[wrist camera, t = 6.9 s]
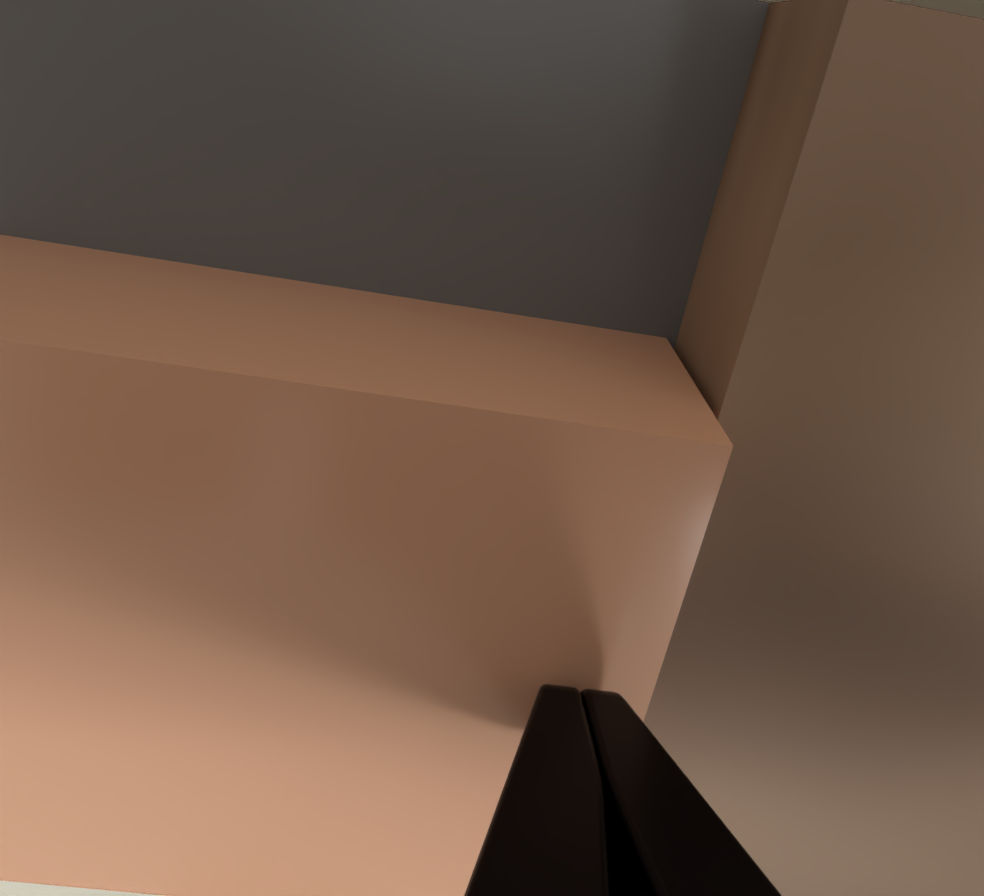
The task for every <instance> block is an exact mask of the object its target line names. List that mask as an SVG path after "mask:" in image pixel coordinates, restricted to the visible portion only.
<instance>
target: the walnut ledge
mask: <svg viewBox="0 0 984 896" xmlns="http://www.w3.org/2000/svg"><path fill="white" fill-rule="evenodd" d="M674 351H675V352H676V354H677V356H678V357H679V359H680V361H681V362H682V364H683V365H684V367H685V369H686V370H687V372H688V373H689V375H690V377H691V378H692V380H693V381H694V383H695V385H696V386H697V388H698V390H699V391H700V393H701V394H702V396H703V398H704V399H705V401H706V402H707V404H708V406H709V407H710V409H711V410H712V412H713V414H714V415H715V417H716V419H717V420H718V422H719V423H720V425H721V427H722V428H723V430H724V431H725V433H726V435H727V436H728V438H729V439H730V441H731V443H732V444H733V449H732V452H731V455H730V458H729V461H728V464H727V467H726V470H725V473H724V476H723V479H722V482H721V485H720V489H719V492H718V495H717V498H716V501H715V504H714V507H713V510H712V513H711V516H710V519H709V522H708V525H707V528H706V531H705V535H704V538H703V541H702V544H701V547H700V550H699V553H698V556H697V559H696V562H695V565H694V568H693V571H692V574H691V577H690V581H689V584H688V587H687V590H686V593H685V596H684V599H683V602H682V605H681V608H680V611H679V614H678V617H677V620H676V623H675V627H674V630H673V633H672V636H671V639H670V642H669V645H668V648H667V651H666V654H665V657H664V660H663V663H662V666H661V669H660V673H659V676H658V679H657V682H656V685H655V688H654V691H653V694H652V697H651V700H650V703H649V706H648V709H647V712H646V715H645V719H644V724H645V725H646V726H647V727H648V729H649V730H650V731H651V732H652V734H653V735H654V736H655V737H656V739H657V740H658V741H659V742H660V744H661V745H662V746H663V747H664V749H665V750H666V751H667V752H668V754H669V755H670V756H671V757H672V759H673V760H674V761H675V762H676V764H677V765H678V766H679V767H680V769H681V770H682V771H683V772H684V774H685V775H686V776H687V777H688V779H689V780H690V781H691V782H692V784H693V785H694V786H695V787H696V789H697V790H698V791H699V792H700V794H701V795H702V796H703V798H704V799H705V800H706V801H707V803H708V804H709V805H710V806H711V808H712V809H713V810H714V811H715V813H716V814H717V815H718V816H719V818H720V819H721V820H722V821H723V823H724V824H725V825H726V826H727V828H728V829H729V830H730V831H731V833H732V834H733V835H734V836H735V838H736V839H737V840H738V841H739V843H740V844H741V845H742V846H743V848H744V849H745V850H746V851H747V853H748V854H749V855H750V856H751V858H752V859H753V860H754V861H755V863H756V864H757V865H758V866H759V868H760V869H761V870H762V871H763V873H764V874H765V875H766V876H767V878H768V879H769V880H770V881H771V883H772V884H773V885H774V886H775V888H776V889H777V890H778V891H779V893H780V894H781V895H782V896H984V19H980V18H975V17H970V16H964V15H959V14H954V13H949V12H944V11H939V10H934V9H929V8H923V7H918V6H913V5H908V4H903V3H898V2H893V1H887V0H790V1H782V2H773V3H769V7H768V10H767V14H766V17H765V21H764V25H763V28H762V32H761V36H760V39H759V43H758V47H757V50H756V54H755V57H754V61H753V65H752V68H751V72H750V76H749V79H748V83H747V86H746V90H745V94H744V97H743V101H742V105H741V108H740V112H739V116H738V119H737V123H736V126H735V130H734V134H733V137H732V141H731V145H730V148H729V152H728V156H727V159H726V163H725V166H724V170H723V174H722V177H721V181H720V185H719V188H718V192H717V196H716V199H715V203H714V206H713V210H712V214H711V217H710V221H709V225H708V228H707V232H706V235H705V239H704V243H703V246H702V250H701V254H700V257H699V261H698V265H697V268H696V272H695V275H694V279H693V283H692V286H691V290H690V294H689V297H688V301H687V305H686V308H685V312H684V315H683V319H682V323H681V326H680V330H679V334H678V337H677V341H676V344H675V348H674Z"/></svg>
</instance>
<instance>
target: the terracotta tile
mask: <svg viewBox="0 0 984 896" xmlns="http://www.w3.org/2000/svg"><path fill="white" fill-rule="evenodd" d="M732 449H733V444H732V443H731V441H730V439H729V438H728V436H727V435H726V433H725V431H724V430H723V428H722V427H721V425H720V423H719V422H718V420H717V419H716V417H715V415H714V414H713V412H712V410H711V409H710V407H709V406H708V404H707V402H706V401H705V399H704V398H703V396H702V394H701V393H700V391H699V390H698V388H697V386H696V385H695V383H694V381H693V380H692V378H691V377H690V375H689V373H688V372H687V370H686V369H685V367H684V365H683V364H682V362H681V361H680V359H679V357H678V356H677V354H676V352H675V351H674V349H673V348H672V346H671V344H670V343H669V341H668V340H667V338H664V337H657V336H651V335H644V334H638V333H632V332H625V331H619V330H612V329H606V328H599V327H593V326H586V325H580V324H574V323H567V322H561V321H554V320H548V319H541V318H535V317H528V316H522V315H516V314H509V313H503V312H496V311H490V310H483V309H477V308H470V307H464V306H458V305H451V304H445V303H438V302H432V301H425V300H419V299H413V298H406V297H400V296H393V295H387V294H380V293H374V292H367V291H361V290H355V289H348V288H342V287H335V286H329V285H322V284H316V283H309V282H303V281H297V280H290V279H284V278H277V277H271V276H264V275H258V274H251V273H245V272H239V271H232V270H226V269H219V268H213V267H206V266H200V265H193V264H187V263H181V262H174V261H168V260H161V259H155V258H148V257H142V256H136V255H129V254H123V253H116V252H110V251H103V250H97V249H90V248H84V247H78V246H71V245H65V244H58V243H52V242H45V241H39V240H32V239H26V238H20V237H13V236H7V235H0V880H2V881H13V882H24V883H35V884H46V885H57V886H67V887H78V888H89V889H100V890H111V891H121V892H132V893H143V894H154V895H165V896H464V894H465V891H466V889H467V886H468V883H469V880H470V878H471V875H472V872H473V869H474V867H475V864H476V861H477V858H478V856H479V853H480V850H481V847H482V845H483V842H484V839H485V836H486V834H487V831H488V828H489V825H490V823H491V820H492V817H493V814H494V812H495V809H496V806H497V803H498V801H499V798H500V795H501V792H502V790H503V787H504V784H505V781H506V779H507V776H508V773H509V770H510V768H511V765H512V762H513V760H514V757H515V754H516V751H517V749H518V746H519V743H520V740H521V738H522V735H523V732H524V729H525V727H526V724H527V721H528V718H529V716H530V713H531V710H532V707H533V705H534V702H535V699H536V696H537V694H538V691H539V689H540V687H541V686H542V685H544V684H552V685H561V686H570V687H575V688H576V689H578V690H579V691H580V692H581V691H582V690H584V689H595V690H603V691H612V692H616V693H619V694H620V695H621V696H623V698H624V699H625V700H626V701H627V702H628V704H629V705H630V706H631V707H632V709H633V710H634V711H635V712H636V714H637V715H638V716H639V717H640V719H641V720H642V721H643V722H644V719H645V715H646V712H647V709H648V706H649V703H650V700H651V697H652V694H653V691H654V688H655V685H656V682H657V679H658V676H659V673H660V669H661V666H662V663H663V660H664V657H665V654H666V651H667V648H668V645H669V642H670V639H671V636H672V633H673V630H674V627H675V623H676V620H677V617H678V614H679V611H680V608H681V605H682V602H683V599H684V596H685V593H686V590H687V587H688V584H689V581H690V577H691V574H692V571H693V568H694V565H695V562H696V559H697V556H698V553H699V550H700V547H701V544H702V541H703V538H704V535H705V531H706V528H707V525H708V522H709V519H710V516H711V513H712V510H713V507H714V504H715V501H716V498H717V495H718V492H719V489H720V485H721V482H722V479H723V476H724V473H725V470H726V467H727V464H728V461H729V458H730V455H731V452H732Z"/></svg>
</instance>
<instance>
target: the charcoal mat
mask: <svg viewBox="0 0 984 896" xmlns="http://www.w3.org/2000/svg"><path fill="white" fill-rule="evenodd" d="M768 7H769V3H767V2H762V1H757V0H0V235H7V236H13V237H20V238H26V239H32V240H39V241H45V242H52V243H58V244H65V245H71V246H78V247H84V248H90V249H97V250H103V251H110V252H116V253H123V254H129V255H136V256H142V257H148V258H155V259H161V260H168V261H174V262H181V263H187V264H193V265H200V266H206V267H213V268H219V269H226V270H232V271H239V272H245V273H251V274H258V275H264V276H271V277H277V278H284V279H290V280H297V281H303V282H309V283H316V284H322V285H329V286H335V287H342V288H348V289H355V290H361V291H367V292H374V293H380V294H387V295H393V296H400V297H406V298H413V299H419V300H425V301H432V302H438V303H445V304H451V305H458V306H464V307H470V308H477V309H483V310H490V311H496V312H503V313H509V314H516V315H522V316H528V317H535V318H541V319H548V320H554V321H561V322H567V323H574V324H580V325H586V326H593V327H599V328H606V329H612V330H619V331H625V332H632V333H638V334H644V335H651V336H657V337H664V338H667V340H668V341H669V343H670V344H671V346H672V348H673V349H674V348H675V344H676V341H677V337H678V334H679V330H680V326H681V323H682V319H683V315H684V312H685V308H686V305H687V301H688V297H689V294H690V290H691V286H692V283H693V279H694V275H695V272H696V268H697V265H698V261H699V257H700V254H701V250H702V246H703V243H704V239H705V235H706V232H707V228H708V225H709V221H710V217H711V214H712V210H713V206H714V203H715V199H716V196H717V192H718V188H719V185H720V181H721V177H722V174H723V170H724V166H725V163H726V159H727V156H728V152H729V148H730V145H731V141H732V137H733V134H734V130H735V126H736V123H737V119H738V116H739V112H740V108H741V105H742V101H743V97H744V94H745V90H746V86H747V83H748V79H749V76H750V72H751V68H752V65H753V61H754V57H755V54H756V50H757V47H758V43H759V39H760V36H761V32H762V28H763V25H764V21H765V17H766V14H767V10H768Z"/></svg>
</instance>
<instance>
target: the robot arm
mask: <svg viewBox="0 0 984 896" xmlns="http://www.w3.org/2000/svg"><path fill="white" fill-rule="evenodd" d="M464 896H782V895H781V894H780V893H779V891H778V890H777V889H776V888H775V886H774V885H773V884H772V883H771V881H770V880H769V879H768V878H767V876H766V875H765V874H764V873H763V871H762V870H761V869H760V868H759V866H758V865H757V864H756V863H755V861H754V860H753V859H752V858H751V856H750V855H749V854H748V853H747V851H746V850H745V849H744V848H743V846H742V845H741V844H740V843H739V841H738V840H737V839H736V838H735V836H734V835H733V834H732V833H731V831H730V830H729V829H728V828H727V826H726V825H725V824H724V823H723V821H722V820H721V819H720V818H719V816H718V815H717V814H716V813H715V811H714V810H713V809H712V808H711V806H710V805H709V804H708V803H707V801H706V800H705V799H704V798H703V796H702V795H701V794H700V792H699V791H698V790H697V789H696V787H695V786H694V785H693V784H692V782H691V781H690V780H689V779H688V777H687V776H686V775H685V774H684V772H683V771H682V770H681V769H680V767H679V766H678V765H677V764H676V762H675V761H674V760H673V759H672V757H671V756H670V755H669V754H668V752H667V751H666V750H665V749H664V747H663V746H662V745H661V744H660V742H659V741H658V740H657V739H656V737H655V736H654V735H653V734H652V732H651V731H650V730H649V729H648V727H647V726H646V725H645V724H644V722H643V721H642V720H641V719H640V717H639V716H638V715H637V714H636V712H635V711H634V710H633V709H632V707H631V706H630V705H629V704H628V702H627V701H626V700H625V699H624V698H623V696H621V695H620V694H619V693H616V692H612V691H603V690H595V689H584V690H582V691H581V692H580V691H579V690H578V689H576V688H575V687H570V686H561V685H552V684H544V685H542V686H541V687H540V689H539V691H538V694H537V696H536V699H535V702H534V705H533V707H532V710H531V713H530V716H529V718H528V721H527V724H526V727H525V729H524V732H523V735H522V738H521V740H520V743H519V746H518V749H517V751H516V754H515V757H514V760H513V762H512V765H511V768H510V770H509V773H508V776H507V779H506V781H505V784H504V787H503V790H502V792H501V795H500V798H499V801H498V803H497V806H496V809H495V812H494V814H493V817H492V820H491V823H490V825H489V828H488V831H487V834H486V836H485V839H484V842H483V845H482V847H481V850H480V853H479V856H478V858H477V861H476V864H475V867H474V869H473V872H472V875H471V878H470V880H469V883H468V886H467V889H466V891H465V894H464Z"/></svg>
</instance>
